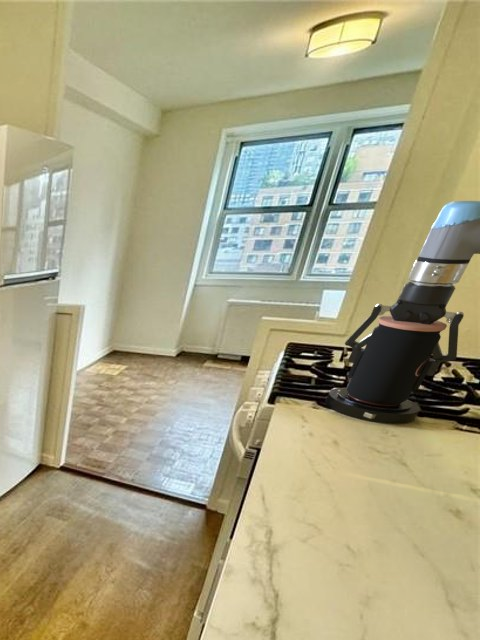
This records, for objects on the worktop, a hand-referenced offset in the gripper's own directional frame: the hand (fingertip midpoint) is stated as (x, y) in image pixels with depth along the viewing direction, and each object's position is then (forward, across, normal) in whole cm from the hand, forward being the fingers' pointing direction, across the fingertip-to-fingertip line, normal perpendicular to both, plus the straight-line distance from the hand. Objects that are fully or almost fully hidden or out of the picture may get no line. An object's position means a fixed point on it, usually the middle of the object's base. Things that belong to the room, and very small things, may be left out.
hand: (381, 382), depth 112 cm
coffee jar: (+4, 0, 0) cm, 4 cm away
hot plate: (+7, 0, 0) cm, 7 cm away
